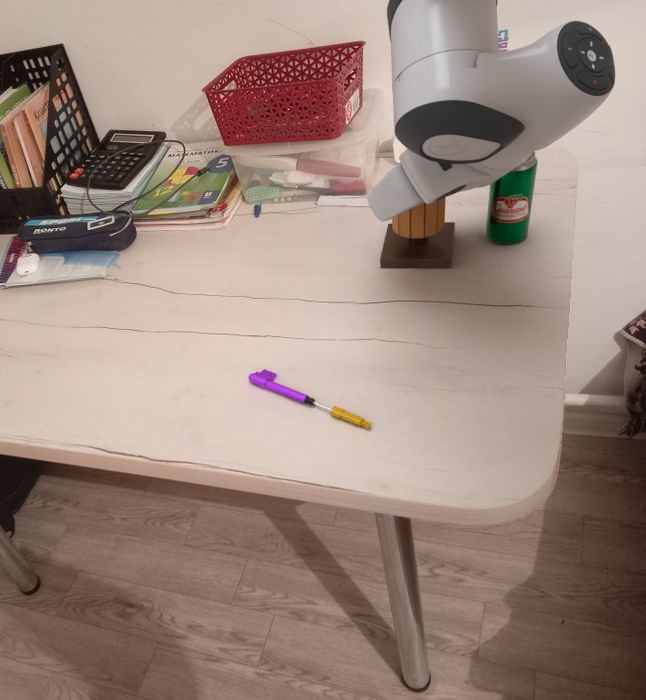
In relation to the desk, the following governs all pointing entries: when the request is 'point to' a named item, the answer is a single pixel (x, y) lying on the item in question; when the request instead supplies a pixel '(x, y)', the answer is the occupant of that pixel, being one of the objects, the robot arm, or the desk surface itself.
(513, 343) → the desk surface
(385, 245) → the stand
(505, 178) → the soda can
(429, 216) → the wooden hollow cylinder
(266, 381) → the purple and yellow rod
